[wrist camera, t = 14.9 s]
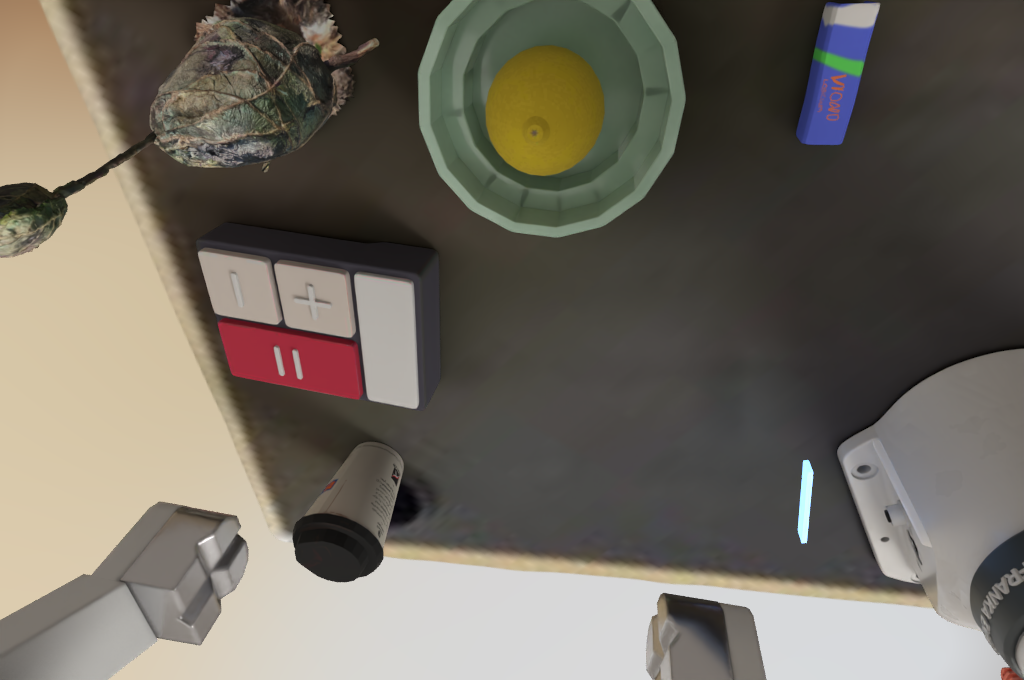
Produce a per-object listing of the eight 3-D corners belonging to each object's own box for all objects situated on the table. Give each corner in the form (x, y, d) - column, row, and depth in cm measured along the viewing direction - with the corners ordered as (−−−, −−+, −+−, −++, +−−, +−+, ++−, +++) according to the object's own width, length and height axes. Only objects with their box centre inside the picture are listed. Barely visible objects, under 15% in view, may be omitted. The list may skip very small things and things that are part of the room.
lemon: (603, 28, 28) (598, 50, 21) (608, 143, 31) (605, 193, 24) (494, 43, 29) (457, 69, 22) (509, 152, 32) (480, 203, 25)
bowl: (692, 170, 31) (703, 202, 27) (489, 224, 35) (471, 259, 31) (648, -91, 25) (653, -100, 21) (408, 7, 29) (374, 15, 25)
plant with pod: (402, 144, 33) (192, 327, 17) (222, 133, 35) (-134, 294, 18) (387, -20, 29) (78, 12, 12) (181, -26, 30) (-347, -2, 14)
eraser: (868, 0, 26) (885, 2, 24) (831, 134, 29) (844, 145, 28) (822, 0, 26) (836, 4, 25) (791, 134, 30) (801, 145, 28)
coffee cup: (423, 446, 47) (382, 549, 39) (410, 497, 51) (370, 601, 43) (343, 420, 47) (285, 519, 39) (335, 474, 51) (281, 574, 43)
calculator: (184, 243, 35) (416, 280, 33) (227, 217, 38) (439, 249, 36) (224, 381, 41) (422, 420, 39) (258, 348, 45) (441, 382, 43)
